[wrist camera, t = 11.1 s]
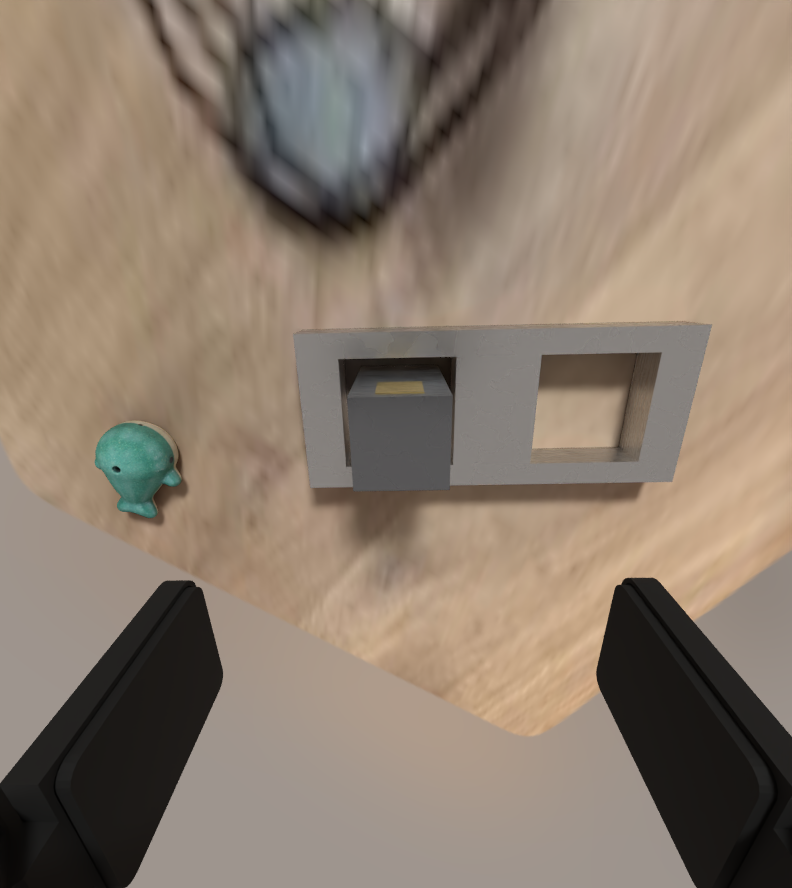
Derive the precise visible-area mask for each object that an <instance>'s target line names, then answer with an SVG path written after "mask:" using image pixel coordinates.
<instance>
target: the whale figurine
mask: <svg viewBox="0 0 792 888" xmlns="http://www.w3.org/2000/svg"><path fill="white" fill-rule="evenodd" d="M178 456H179V454H178V449H177V446H176V443H175V442H174V440H173V439H172V437H171V436H170V435H169V434H168V433H167V432H166V431H164V430H163V429H162V428H160V427H158V426H156V425H154V424H151V423H148V422H143V421H126V422H123V423H120V424H118V425H116V426H115V427H113V428H111V429H110V430H108V431H107V432H106V433H105V434H104V435H103V436H102V437H101V439H100V440H99V442H98V444H97V447H96V459H95V465H96V467H97V468H99V469H101V470H102V471H103V472H104V474H105V475H106V477H107V478H108V480H109V482H110V483H111V484H112V486H113V487H114V489H115V490H116V491H117V492H118V493H119V494H120V496H121V498H120V500H119V501H118V503H117V508H118V509H119V510H120V511H122V512H133V513H136V514H139V515H142V516H144V517H147V518H153V517H155V516H156V515H157V514H158V507H157V505H156V502H155V501H154V499H153V496H154V494H155V493H156V492H157V491H158V489H159V488H160V487H161V486H162V484H166V485H168V486H172V487H174V486H178V485H179V484H180V483H181V481H182V477H181V474H180V473H179V471H178V470H177V468H176V463H177V461H178Z"/></svg>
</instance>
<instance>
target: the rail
mask: <svg viewBox="0 0 792 888" xmlns="http://www.w3.org/2000/svg"><path fill="white" fill-rule="evenodd" d="M711 327H712V325H711V324H703V323H695V322H686V321H666V322H621V323H577V324H532V325H488V326H443V327H398V328H354V329H309V330H301V331H299V332H296V333H294V334H293V337H294V346H295V355H296V364H297V373H298V382H299V391H300V400H301V408H302V417H303V426H304V435H305V444H306V453H307V462H308V471H309V480H310V488H329V487H353V480H352V465H351V452H350V439H349V425H348V410H347V395H346V381H345V366H344V359H369V358H416V357H451V385H450V391H451V393H452V395H453V401H452V433H451V464H450V485H509V484H569V483H629V482H672V480H673V476H674V472H675V468H676V465H677V461H678V457H679V453H680V449H681V445H682V441H683V437H684V433H685V429H686V425H687V421H688V417H689V413H690V409H691V406H692V402H693V398H694V394H695V390H696V386H697V382H698V378H699V374H700V370H701V366H702V362H703V358H704V354H705V350H706V347H707V343H708V339H709V335H710V331H711ZM604 353H637V356H636V361H635V367H634V372H633V377H632V382H631V387H630V392H629V398H628V403H627V408H626V413H625V418H624V423H623V429H622V434H621V439H620V444H619V447H609V448H553V449H532V441H533V432H534V423H535V413H536V404H537V395H538V386H539V377H540V367H541V358H542V355H557V354H604Z"/></svg>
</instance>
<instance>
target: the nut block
mask: <svg viewBox="0 0 792 888" xmlns="http://www.w3.org/2000/svg"><path fill="white" fill-rule="evenodd" d="M452 401H453V395H452V393H451V391H450V389H449V387H448V385H447V383H446V381H445V379H444V377H443V375H442V373H441V371H440V369H439V367H438V365H403V366H361V368H360V370H359V373H358V375H357V377H356V379H355V381H354V384H353V386H352V388H351V390H350V392H349V394H348V397H347V405H348V420H349V435H350V450H351V465H352V480H353V491H407V490H450V464H451V433H452Z"/></svg>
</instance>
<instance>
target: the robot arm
mask: <svg viewBox="0 0 792 888" xmlns="http://www.w3.org/2000/svg"><path fill="white" fill-rule="evenodd" d="M596 676H597V682H598V685H599V688H600V690H601V693H602V695H603V697H604V699H605V701H606V703H607V705H608V707H609V709H610V711H611V713H612V715H613V717H614V719H615V722H616V724H617V725H618V728H619V730H620V732H621V734H622V736H623V738H624V740H625V742H626V744H627V746H628V748H629V750H630V752H631V755H632V757H633V759H634V761H635V763H636V765H637V767H638V769H639V771H640V773H641V775H642V777H643V780H644V782H645V784H646V786H647V788H648V790H649V792H650V794H651V796H652V798H653V800H654V802H655V804H656V806H657V809H658V811H659V813H660V815H661V817H662V819H663V821H664V823H665V825H666V827H667V829H668V831H669V833H670V835H671V838H672V840H673V842H674V844H675V846H676V848H677V850H678V852H679V854H680V856H681V858H682V860H683V862H684V864H685V867H686V869H687V871H688V873H689V875H690V877H691V879H692V881H693V882H694V884H695V886H696V887H697V888H792V737H791V735H790V734H789V733H788V732H787V731H786V730H785V729H784V727H783V726H782V725H781V724H780V723H779V721H778V720H777V719H776V718H775V717H774V716H773V714H772V713H771V712H770V711H769V710H768V709H767V707H766V706H765V705H764V704H763V703H762V702H761V700H760V699H759V698H758V697H757V696H756V694H754V692H753V691H752V690H751V689H750V688H749V686H748V685H747V684H746V683H745V682H744V680H743V679H742V678H741V677H740V676H739V675H738V673H737V672H736V671H735V670H734V669H733V668H732V667H731V665H730V664H729V663H728V662H727V661H726V660H725V658H724V657H723V656H722V655H721V654H720V653H719V651H718V650H717V649H716V648H715V647H714V645H713V644H712V643H711V642H710V641H709V639H708V638H707V637H706V636H705V635H704V634H703V633H702V631H701V630H700V629H699V628H698V627H697V625H696V624H695V623H694V622H693V621H692V620H691V618H690V617H689V616H688V615H687V614H686V613H685V611H684V610H683V609H682V608H681V607H680V606H679V604H678V603H677V602H676V601H675V600H674V599H673V597H672V596H671V595H670V594H669V593H668V591H667V590H666V589H665V588H664V587H663V586H662V584H661V583H660V582H659V581H658V580H656V579H654V578H625V579H624V580H623V582H622V585H617V586H616V588H615V591H614V595H613V599H612V604H611V608H610V613H609V617H608V621H607V626H606V630H605V635H604V639H603V644H602V648H601V652H600V657H599V661H598V666H597V671H596ZM222 679H223V669H222V665H221V661H220V657H219V654H218V649H217V646H216V642H215V638H214V634H213V630H212V626H211V622H210V618H209V614H208V610H207V606H206V602H205V599H204V594H203V591H202V589H201V588H200V587H196V585H195V583H194V582H193V581H165V582H163V583H162V584H161V585H160V586H159V587H158V588H157V590H156V591H155V592H154V593H153V595H152V596H151V597H150V598H149V599H148V601H147V602H146V603H145V604H144V606H143V607H142V608H141V609H140V611H139V612H138V613H137V614H136V616H135V617H134V618H133V619H132V621H131V622H130V623H129V624H128V625H127V627H126V628H125V629H124V630H123V632H122V633H121V634H120V635H119V637H118V638H117V639H116V640H115V642H114V643H113V644H112V645H111V647H110V648H109V649H108V650H107V652H106V653H105V654H104V655H103V656H102V658H101V659H100V660H99V661H98V663H97V664H96V665H95V666H94V668H93V669H92V670H91V671H90V673H89V674H88V675H87V676H86V678H85V679H84V680H83V681H82V683H81V684H80V685H79V686H78V688H77V689H76V690H75V691H74V693H73V694H72V695H71V696H70V697H69V699H68V700H67V701H66V702H65V704H64V705H63V706H62V707H61V709H60V710H59V711H58V713H57V714H56V715H55V716H54V717H53V719H52V720H51V721H50V722H49V724H48V725H47V726H46V727H45V728H44V730H43V731H42V732H41V733H40V735H39V736H38V737H37V738H36V740H35V741H34V742H33V743H32V745H31V746H30V747H29V748H28V750H27V751H26V752H25V753H24V755H23V756H22V757H21V758H20V760H19V761H18V762H17V763H16V764H15V766H14V767H13V768H12V770H11V771H10V772H9V773H8V775H7V776H6V777H5V778H4V779H3V781H2V782H1V783H0V888H125V887H127V886H128V885H129V884H130V883H131V882H132V880H133V879H134V877H135V875H136V873H137V871H138V869H139V867H140V865H141V862H142V860H143V858H144V856H145V854H146V851H147V849H148V847H149V845H150V842H151V840H152V838H153V836H154V834H155V831H156V829H157V827H158V825H159V823H160V820H161V818H162V816H163V814H164V812H165V809H166V807H167V805H168V803H169V800H170V798H171V796H172V794H173V792H174V789H175V787H176V785H177V783H178V780H179V778H180V776H181V774H182V771H183V770H184V767H185V765H186V763H187V761H188V758H189V756H190V754H191V752H192V750H193V747H194V745H195V743H196V741H197V739H198V736H199V734H200V732H201V730H202V728H203V725H204V723H205V721H206V719H207V716H208V714H209V712H210V710H211V708H212V705H213V703H214V701H215V699H216V696H217V694H218V692H219V690H220V687H221V684H222Z"/></svg>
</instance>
